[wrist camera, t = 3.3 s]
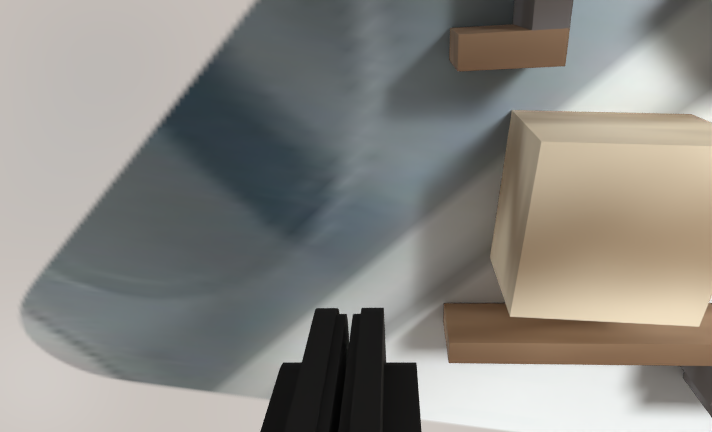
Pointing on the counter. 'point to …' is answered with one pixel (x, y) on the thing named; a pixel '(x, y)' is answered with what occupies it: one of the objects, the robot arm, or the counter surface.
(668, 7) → the counter surface
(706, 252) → the block
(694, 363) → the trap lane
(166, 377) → the counter surface
